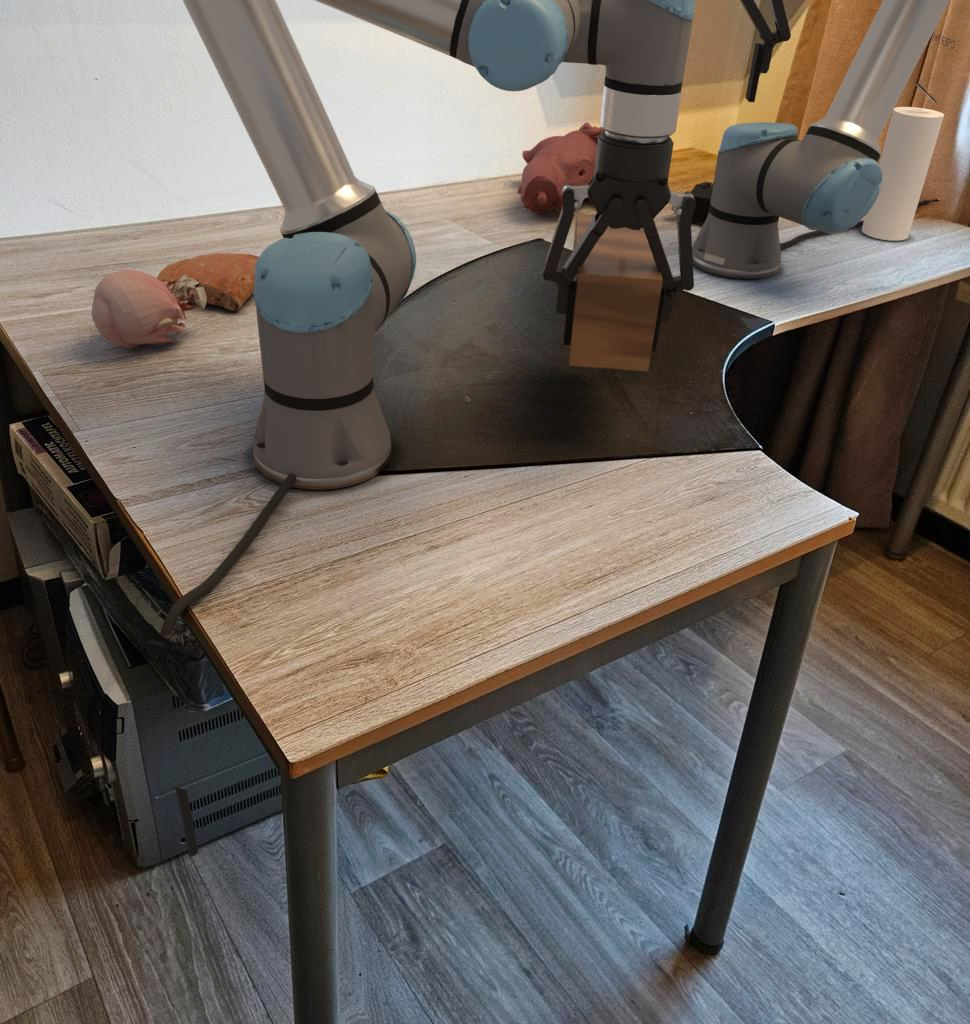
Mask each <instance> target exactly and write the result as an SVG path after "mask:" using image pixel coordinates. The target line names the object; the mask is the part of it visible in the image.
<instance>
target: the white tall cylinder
mask: <svg viewBox="0 0 970 1024" xmlns="http://www.w3.org/2000/svg"><path fill="white" fill-rule="evenodd" d="M940 37H941V34H938V35H937V33H934V32H933V34H932V35H931V37H930V39H929V41H931V40H932V41H933V42H937V40H938V44H939V43H940V44H942V45H943V46H946V47H947V48H948V47H949V49H950V48H951V49H952V50H953V49H954V48H955V45H956V40H954V39H951V38H948V37H946V36H942V37H941V38H940ZM940 39H941V42H940ZM945 39H946V40H945ZM944 42H945V43H944ZM952 43H954V44H953V46H952ZM913 84H914V85H915V86H916V87H917V88H919V90H920V91H921V92H922V95H923V96H924V97H926V98H928V99H929V100H930V101H931V102H932V103H934V104H937V103H938V101H937V100H936V99H935V98H934V97H932V95H931V94H930V93H929V92H928V91H927V90H926V89H925V88H924V87H923V86H922V85H921V84H920V83H919V82H918V81H915V80H914V82H913ZM944 117H945V114H944V113H943V112H940V111H937V110H936V109H935V110H934V109H929V108H924V107H915V106H914V107H913V106H897V107H894V109H893V111H892V113H891V118H890V122H889V126H888V129H887V133H886V137H885V140H884V145H883V148H882V150H881V156H880V158H879V162H878V164H879V166H880V167H881V170H882V174H883V175H882V182H881V183H880V184H879V185H880V186H881V189H880V192H879V194H878V197H877V199H876V201H875V203H874V204H873V206H872V208H871V209H870V210H869V212H868V213H867V214H866V215H865V217H864V218H863V220H864V223H863V225H862V226H861V232H862V233H863V234H864V235H866V236H868V237H871V238H873V239H878V240H884V241H893V242H895V241H897V242H898V241H899V242H900V241H905V240H907V239H909V236H910V233H911V229H912V226H913V222H914V219H915V215H916V211H917V210H918V209H917V208H918V207H919V206H918V202H919V201H920V200H921V199H920V198H921V195H922V191H923V188H924V184H925V182H926V178H927V175H928V171H929V169H930V165H931V161H932V158H933V155H934V151H935V148H936V145H937V142H938V141H937V140H938V138H939V134H940V130H941V127H942V124H943V121H944Z"/></svg>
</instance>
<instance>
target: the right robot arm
mask: <svg viewBox="0 0 970 1024" xmlns="http://www.w3.org/2000/svg"><path fill="white" fill-rule="evenodd" d="M950 1H951V0H882V2H881V3H880V6H879V7H878V9H877V12H876V13H875V16H874V18H873V20H872V22H871V24H870V26H869V28H868V30H867V32H866V34H865V36H864V38H863V40H862V42H861V44H860V46H859V48H858V50H857V52H856V54H855V55H854V58H853V60H852V62H851V64H850V66H849V68H848V70H847V72H846V74H845V76H844V79H843V80H842V82H841V84H840V86H839V89H838V90H837V92H836V95H835V97H834V99H833V100H832V103H831V105H830V106H829V109H828V110H827V112H826V115H825V116H824V117H823V118H822V119H820V120H818V121H816V122H813V123H811V124H810V125H809V126H808V128H807V130H806V133H805V135H804V136H803V138H802V140H800V139H798V137H799V127H798V126H797V125H796V124H792V123H784V122H769V121H767V122H744V123H737V124H733V125H730V126H729V127H727V128H726V129H725V130H724V132H723V134H722V138H721V141H720V145H719V149H718V151H717V158H716V166H715V170H714V171H715V172H714V177H713V178H714V179H713V182H714V183H713V182H712V184H713V189H712V196H711V202H710V208H709V214H708V217H707V219H706V221H705V223H704V224H702V227H701V228H700V230H699V232H698V234H697V236H696V238H695V240H694V242H693V243H692V254H693V266H694V267H696V268H698V269H699V270H702V271H703V272H706V273H709V274H711V275H715V276H719V277H725V278H730V279H737V280H739V279H741V280H756V279H757V280H760V279H765V278H770V277H772V276H775V275H776V274H777V273H778V272H779V271H780V268H781V262H782V251H781V249H784V248H788V247H791V246H793V245H795V244H797V243H798V242H800V241H802V240H805V239H808V238H811V237H812V238H813V237H816V236H821V235H826V234H829V235H830V234H831V235H833V234H834V235H835V234H836V235H837V234H842V233H844V232H846V231H848V230H849V229H853V228H858V227H862V226H863V223H864V219H865V215H866V214H867V213H868V212H869V210H870V209H871V208H872V206H873V204H874V203H875V201H876V199H877V197H878V194H879V192H880V189H881V186H880V185H879V184H880V183H881V182H882V175H883V174H882V170H881V167H880V166H879V161H880V159H881V155H882V150H881V147H880V144H879V138H880V136H881V134H882V132H883V131H884V128H885V127H886V124H887V122H888V120H889V119H890V117H891V116H892V114H893V110H894V108H896V106H897V104H898V101H899V99H900V97H901V95H902V94H903V92H904V90H905V88H906V86H907V84H908V82H909V80H910V78H911V76H912V74H913V73H914V70H915V68H916V66H917V64H918V62H919V61H920V59H921V57H922V55H923V53H924V51H925V49H926V47H927V45H928V43H929V41H930V39H931V37H932V36H933V35H932V34H933V33H934V31H935V29H936V28H937V25H938V24H939V22H940V20H941V18H942V16H943V15H944V12H945V11H946V8H947V7H948V5H949V2H950ZM739 2H740V3H741V5H742V7H743V9H744V11H745V12H746V15H747V16H748V18H749V19H750V22H751V23H752V25H753V27H754V28H755V30H756V32H757V34H758V36H759V37H760V39H761V43H760V42H759V43H758V42H756V43H754V49H753V55H752V60H751V65H750V71H749V76H748V81H747V86H746V92H745V99H746V101H747V102H748V103H755V101H756V96H757V92H758V86H759V82H760V81H759V80H760V75H761V74H766V75H767V73H768V72H769V70H770V66H771V61H772V56H773V50H774V47H775V46H776V45H777V44H779V43H783V42H788V41H789V40H790V39H791V37H792V34H791V29H790V25H789V22H788V17H787V13H786V9H785V4H784V1H783V0H768V3H769V8H770V11H771V15H772V19H773V23H774V27H775V30H774V31H772V30H771V29H770V27H769V25H768V23H767V21H766V19H765V18H764V16H763V15H762V12H761V10H760V9H759V7H758V5H757V3H756V2H755V0H739ZM931 35H932V36H931ZM926 203H929V201H927V200H924V201H921V202H918V206H917V207H919V206H922V205H924V204H926ZM780 218H782V219H785V220H787V221H790V222H793V223H795V224H797V225H801V226H804V227H805V228H806V229H808V230H811V231H809V232H805V233H802V234H799V235H797V236H795V237H794V238H792V239H789V240H788V241H784V242H780V231H779V220H780Z"/></svg>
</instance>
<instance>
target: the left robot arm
mask: <svg viewBox="0 0 970 1024" xmlns="http://www.w3.org/2000/svg"><path fill="white" fill-rule="evenodd" d="M182 2H183V5H184V6H185V8H186V10H187V12H188V15H189V16H190V18H191V20H192V22H193V24H194V26H195V29H196V30H197V31H196V32H198V34H199V36H200V39H201V41H202V43H203V45H204V47H205V50H206V51H207V53H208V56H209V57H210V59H211V61H212V63H213V65H214V68H215V70H216V71H217V74H218V76H219V77H220V80H221V82H222V84H223V86H224V88H225V90H226V92H227V94H228V96H229V98H230V100H231V102H232V104H233V106H234V108H235V111H236V113H237V114H238V116H239V119H240V121H241V123H242V125H243V127H244V129H245V131H246V133H247V135H248V137H249V139H250V141H251V144H252V145H253V148H254V150H255V151H256V153H257V156H258V157H259V160H260V162H261V164H262V166H263V168H264V170H265V172H266V174H267V176H268V179H269V181H270V183H271V184H272V186H273V188H274V190H275V192H276V194H277V197H278V198H279V200H280V203H281V204H282V207H283V209H284V211H283V212H284V215H283V217H282V220H281V224H280V227H279V232H280V234H281V236H282V238H280V239H278V240H276V241H274V242H273V243H271V244H269V245H268V246H267V247H266V248H265V249H264V250H262V252H261V253H260V255H258V257H259V258H258V259H257V262H256V265H255V271H254V275H255V282H254V290H253V293H252V294H253V301H254V305H255V310H256V311H255V312H256V320H257V331H258V340H259V349H260V359H261V369H262V379H263V388H264V390H263V391H264V396H263V400H262V404H261V408H260V412H259V415H258V419H257V423H256V427H255V430H254V434H253V439H252V441H253V442H252V455H253V460H254V464H255V467H256V468H257V470H258V471H259V472H260V473H261V474H262V475H263V476H265V477H266V478H268V479H269V480H271V481H273V482H275V483H278V484H280V485H279V487H278V489H277V490H276V491H275V493H274V494H273V495H272V497H271V498H270V499H269V501H268V502H267V504H266V505H265V506H264V508H262V510H261V512H260V513H259V515H258V516H257V517H256V519H255V520H254V521H253V523H252V524H251V526H250V527H249V528H248V530H247V531H246V533H244V535H243V536H242V538H241V539H240V540H239V541H238V542H237V544H236V545H235V546H234V547H233V549H232V550H231V551H230V553H228V555H227V556H226V557H225V559H224V560H223V561H222V562H221V563H220V565H218V567H217V568H216V569H215V570H214V571H213V572H212V573H211V574H210V575H209V576H208V577H207V578H206V579H205V580H204V581H203V582H202V583H200V584H199V585H198V586H196V587H195V588H193V589H191V590H190V591H188V592H186V593H185V594H183V595H182V596H181V597H179V599H177V600H176V601H175V602H174V604H173V605H172V606H171V607H170V609H169V611H168V613H167V614H166V615H165V618H164V621H163V623H162V626H161V629H160V634H159V636H161V637H168V636H170V635H171V634H172V633H173V632H174V628H175V626H176V623H177V621H178V619H179V618H180V616H181V615H182V613H183V611H184V610H186V608H188V607H189V606H190V605H191V604H193V603H194V602H197V600H199V599H201V598H202V597H204V596H205V595H207V594H208V593H209V592H210V591H212V589H214V588H215V587H216V586H217V584H218V583H219V582H220V581H221V580H222V579H223V578H224V577H225V576H226V575H227V573H228V572H229V571H230V570H231V569H232V568H233V566H234V565H235V564H236V563H237V561H238V560H239V559H240V558H241V556H242V555H243V554H244V552H245V551H246V550H247V549H248V548H249V546H250V545H251V544H252V542H253V541H254V540H255V538H256V537H257V536H258V534H259V533H260V532H261V530H262V529H263V527H264V525H266V523H267V522H268V520H269V519H270V517H271V516H272V515H273V513H274V512H275V510H276V509H277V507H278V506H279V504H280V503H281V502H282V500H283V499H284V498H285V496H286V495H287V493H288V492H289V491H290V490H291V488H295V489H301V490H312V491H314V490H315V491H323V490H327V491H328V490H337V489H342V488H348V487H351V486H355V485H358V484H361V483H363V482H366V481H368V480H370V479H373V478H374V477H375V476H377V475H378V474H380V473H381V472H382V471H383V470H384V469H385V468H386V467H387V466H388V464H389V463H390V461H391V458H392V438H391V432H390V430H389V427H388V424H387V422H386V419H385V417H384V413H383V411H382V408H381V406H380V403H379V400H378V398H377V395H376V393H375V385H374V337H375V335H376V333H377V332H378V331H379V329H380V328H381V327H382V325H384V323H385V321H386V320H387V319H388V318H389V316H390V315H391V313H392V312H393V311H394V309H396V308H397V307H398V306H400V305H401V303H402V302H403V300H404V299H405V297H406V296H407V295H408V292H409V289H410V287H411V284H412V281H413V279H414V276H415V272H416V267H417V253H416V248H415V244H414V240H413V237H412V235H411V233H410V232H409V230H408V228H407V226H406V225H405V224H404V223H403V221H402V219H400V218H399V217H398V216H396V215H395V214H394V213H391V212H390V211H388V210H386V209H385V207H384V204H383V203H382V201H381V199H380V197H379V194H378V191H377V190H376V188H375V186H374V185H371V184H370V183H367V182H364V181H362V180H360V179H358V178H357V177H356V175H355V174H354V171H353V169H352V167H351V164H350V162H349V159H348V158H347V155H346V154H345V151H344V149H343V146H342V144H341V142H340V140H339V138H338V135H337V133H336V131H335V129H334V127H333V123H332V122H331V120H330V117H329V115H328V113H327V111H326V108H325V106H324V104H323V102H322V100H321V97H320V95H319V93H318V90H317V88H316V86H315V83H314V81H313V79H312V77H311V74H310V73H309V70H308V68H307V66H306V63H305V61H304V59H303V57H302V54H301V53H300V50H299V47H298V46H297V44H296V42H295V40H294V37H293V35H292V33H291V30H290V28H289V25H288V23H287V21H286V18H285V16H284V14H283V12H282V10H281V8H280V5H279V3H278V1H277V0H182ZM314 2H317V3H319V4H322V5H324V6H327V7H329V8H331V9H334V10H337V11H339V12H342V13H343V14H347V15H349V16H351V17H354V18H356V19H359V20H361V21H363V22H366V23H368V24H371V25H373V26H376V27H378V28H381V29H383V30H385V31H387V32H390V33H393V34H395V35H398V36H400V37H402V38H405V39H408V40H409V41H413V42H415V43H417V44H420V45H422V46H425V47H427V48H430V49H432V50H434V51H437V52H438V53H442V54H444V55H446V56H448V57H451V58H453V59H456V60H457V61H460V62H462V63H464V64H466V65H469V66H471V67H474V68H475V69H476V71H477V72H478V74H479V75H480V76H481V78H483V79H484V81H486V82H487V83H488V84H489V85H491V86H492V87H494V88H497V89H499V90H502V91H506V92H522V91H526V90H529V89H532V88H533V87H535V86H537V85H540V84H542V83H544V82H545V81H547V80H549V79H550V77H551V76H553V75H554V74H555V73H556V71H557V69H558V68H559V66H560V65H561V64H562V63H569V64H582V65H583V64H584V65H585V64H587V65H591V66H592V65H593V66H597V65H598V66H599V65H600V66H605V76H604V81H603V82H604V85H603V93H602V101H601V110H600V118H599V126H600V127H601V128H602V129H603V130H605V131H603V132H602V133H601V134H600V135H599V136H598V144H597V153H596V162H595V171H594V176H593V178H592V180H591V182H590V183H589V185H587V186H573V185H572V184H570V183H567V184H565V185H564V186H563V189H562V199H563V207H562V210H561V212H560V213H559V217H558V220H557V223H556V226H555V229H554V233H553V235H552V238H551V242H550V244H549V245H550V246H549V248H548V251H547V254H546V257H545V260H544V263H543V266H542V267H543V268H542V277H543V279H544V280H545V281H548V282H550V281H551V282H553V283H554V284H556V286H557V292H556V293H557V294H556V303H555V309H556V313H557V314H558V315H564V326H563V336H562V337H563V338H562V339H563V341H562V343H563V346H569V345H570V341H571V332H572V322H573V313H574V303H575V294H576V281H572V280H573V279H574V277H575V276H576V274H577V273H578V267H579V266H580V267H581V266H582V265H583V263H584V262H585V260H586V258H587V257H588V255H589V254H590V252H591V251H592V249H593V248H594V246H595V244H596V243H597V241H598V240H599V238H600V237H601V236H602V235H603V234H604V232H605V231H606V229H607V227H608V226H610V228H614V229H619V228H624V227H626V228H629V229H632V230H640V229H641V228H643V229H644V232H645V235H646V238H647V240H648V243H649V246H650V249H651V252H652V255H653V258H654V261H655V264H656V267H657V270H658V272H661V275H662V279H663V281H662V288H661V294H660V300H659V307H658V313H657V319H656V326H655V332H654V338H653V345H652V351H651V353H652V352H653V353H656V352H657V347H658V346H657V345H658V340H659V333H660V327H661V322H665V323H666V322H667V323H668V322H670V320H671V318H672V313H673V308H674V301H675V297H676V296H677V294H678V293H679V292H683V291H687V292H689V291H692V290H693V289H694V287H695V286H694V285H695V280H694V279H695V276H694V275H695V274H694V264H693V254H692V247H693V238H692V222H691V219H692V216H693V212H694V209H695V206H696V201H695V199H694V196H693V194H692V193H691V191H685V192H683V193H681V192H676V191H672V190H671V189H670V186H669V176H670V170H671V163H672V157H673V151H674V145H675V143H674V141H673V139H672V138H671V136H672V135H673V134H675V133H676V131H677V126H678V119H679V118H678V117H679V112H680V111H679V110H680V103H681V96H682V91H683V89H682V88H683V82H684V77H685V70H686V65H687V59H688V53H689V47H690V40H691V34H692V28H693V23H694V15H695V6H696V0H314ZM587 198H588V199H589V201H590V202H591V204H592V205H593V208H594V209H595V211H596V212H595V214H593V215H594V217H593V219H592V221H591V223H590V225H589V227H588V228H587V230H586V231H585V233H584V234H583V236H582V238H581V239H580V241H579V242H578V244H577V246H576V247H575V249H574V250H573V249H572V252H571V254H570V255H569V257H568V258H567V260H566V262H565V263H564V265H563V266H562V268H560V267H558V266H559V263H560V260H561V256H562V254H563V250H564V248H565V244H566V241H567V238H568V236H569V233H570V229H571V227H572V223H573V220H574V217H575V211H574V209H577V208H578V209H580V208H581V207H582V205H583V203H584V200H585V199H587ZM668 204H670V205H671V211H672V213H673V215H675V216H676V226H677V227H676V228H677V242H678V243H677V244H678V261H679V263H678V264H679V275H675V276H673V273H672V270H671V266H670V264H669V261H668V258H667V255H666V252H665V249H664V246H663V243H662V240H661V237H660V234H659V232H658V231H659V230H658V228H657V225H656V221H655V218H656V217H657V216H658V215H659V214H660V213H661V211H662V210H664V208H665V207H666V206H667V205H668ZM578 209H577V210H578ZM174 791H175V796H176V799H177V803H178V809H179V812H180V817H181V822H182V826H183V832H184V837H185V842H186V847H187V854H188V856H190V857H195V856H197V854H199V848H198V847H199V846H198V841H197V836H196V829H195V824H194V819H193V813H192V809H191V805H190V804H191V803H190V800H189V796H188V791H187V789H183V788H180V787H178V786H174Z"/></svg>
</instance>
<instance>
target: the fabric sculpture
mask: <svg viewBox="0 0 970 1024" xmlns="http://www.w3.org/2000/svg"><path fill="white" fill-rule="evenodd" d="M603 131H605V130H603V129H602V128H601V126H600V127H598V126H592V125H591V124H590V123H589V122H585V123H584V124H581V126H580V127H579V129H576V130H573V131H570V132H568V133H566V134H565V135H554V136H549V137H546V138H544V139H542V140H540V141H539V142H538V143H536V145H535V146H534V147H532V148H531V149H529V150H523V151H522V153H521V156H522V158H523V160H524V162H525V163H526V164H525V166H524V168H523V170H522V172H521V173H522V174H521V180H520V181H521V182H520V185H519V186H518V189H517V194H518V195H520V200H521V202H522V203H523V207H524V209H525V210H529V211H530V212H532V213H535V214H546V213H549V212H551V211H552V210H553V209H554V208H555V209H556V210H557V211H559V212H560V213H561V210H562V207H563V199H562V189H563V186H564V185H565V184H567V183H570V184H572V185H573V186H587V185H589V183H590V182H591V180H592V178H593V176H594V171H595V162H596V153H597V144H598V136H599V135H600V134H601V133H602V132H603ZM578 209H579V208H577V209H574V212H575V211H578Z"/></svg>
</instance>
